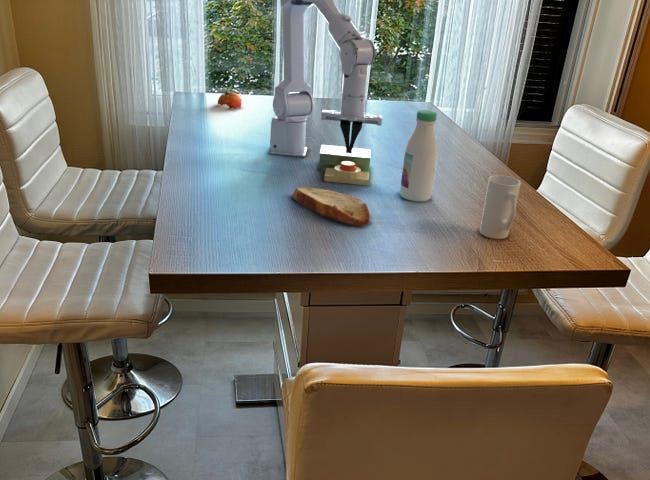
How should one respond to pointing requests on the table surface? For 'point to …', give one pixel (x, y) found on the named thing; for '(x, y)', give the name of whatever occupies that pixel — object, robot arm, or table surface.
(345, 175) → the switch block
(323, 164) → the box
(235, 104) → the tomato
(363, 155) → the lid
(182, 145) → the table surface
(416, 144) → the milk bottle
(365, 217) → the bread slice
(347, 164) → the switch
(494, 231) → the mug
